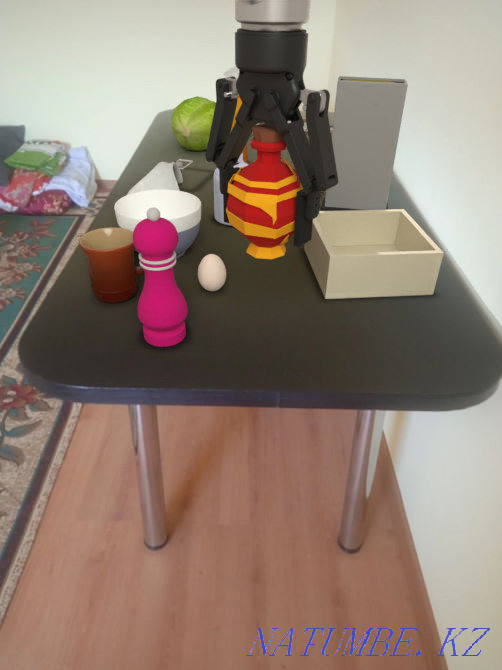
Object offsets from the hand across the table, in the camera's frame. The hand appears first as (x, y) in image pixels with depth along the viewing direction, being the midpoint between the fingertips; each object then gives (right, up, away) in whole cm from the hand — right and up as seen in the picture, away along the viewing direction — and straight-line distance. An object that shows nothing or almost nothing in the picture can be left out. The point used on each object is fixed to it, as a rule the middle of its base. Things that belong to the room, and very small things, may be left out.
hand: (266, 230), depth 65 cm
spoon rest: (-23, +19, +58) cm, 65 cm away
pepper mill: (-15, -13, +13) cm, 24 cm away
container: (+21, +13, +52) cm, 58 cm away
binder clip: (-20, +28, +72) cm, 79 cm away
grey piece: (+14, +52, +106) cm, 119 cm away
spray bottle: (-5, +36, +83) cm, 90 cm away
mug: (-23, -6, +23) cm, 33 cm away
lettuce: (-18, +45, +95) cm, 106 cm away
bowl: (-19, +3, +36) cm, 41 cm away
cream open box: (+19, -1, +31) cm, 36 cm away
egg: (-9, -6, +24) cm, 26 cm away
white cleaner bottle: (-5, +13, +50) cm, 52 cm away
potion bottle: (0, -2, +2) cm, 3 cm away
